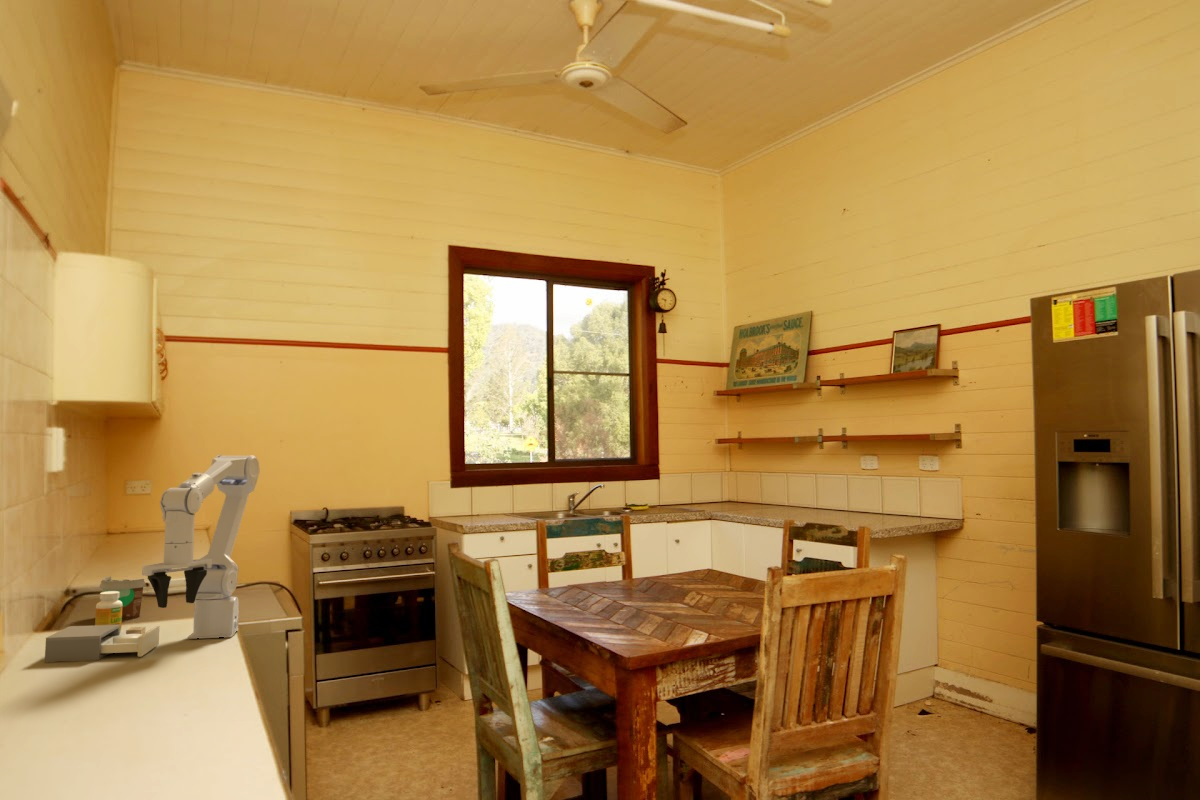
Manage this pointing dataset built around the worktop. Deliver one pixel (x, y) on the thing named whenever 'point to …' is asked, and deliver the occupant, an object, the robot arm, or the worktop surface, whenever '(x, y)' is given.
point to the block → (136, 630)
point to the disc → (126, 638)
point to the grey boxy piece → (78, 643)
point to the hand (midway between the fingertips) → (176, 604)
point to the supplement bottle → (109, 609)
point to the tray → (142, 647)
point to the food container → (126, 594)
